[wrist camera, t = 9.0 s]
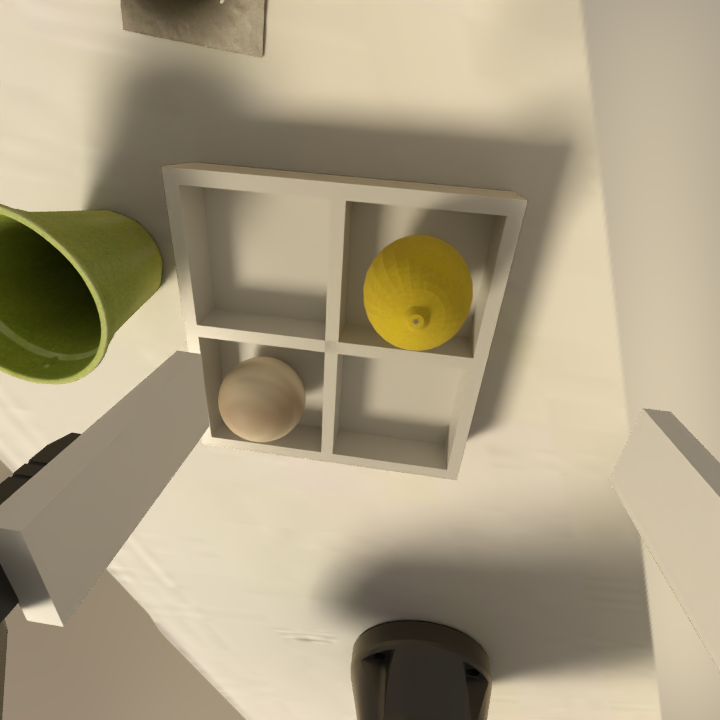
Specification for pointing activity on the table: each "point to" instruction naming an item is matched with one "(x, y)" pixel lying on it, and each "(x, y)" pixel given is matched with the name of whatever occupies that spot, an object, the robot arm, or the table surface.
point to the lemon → (418, 292)
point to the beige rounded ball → (261, 399)
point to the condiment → (200, 22)
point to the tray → (336, 305)
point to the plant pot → (69, 288)
